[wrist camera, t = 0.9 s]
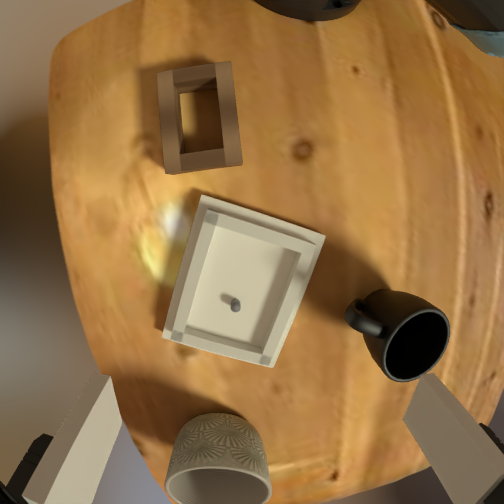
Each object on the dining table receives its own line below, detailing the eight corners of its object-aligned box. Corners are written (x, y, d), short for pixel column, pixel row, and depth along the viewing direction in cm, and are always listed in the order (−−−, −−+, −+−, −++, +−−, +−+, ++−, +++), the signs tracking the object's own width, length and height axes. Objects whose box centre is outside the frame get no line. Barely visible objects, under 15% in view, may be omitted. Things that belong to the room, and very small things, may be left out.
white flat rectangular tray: (202, 194, 30) (199, 194, 27) (322, 234, 32) (330, 238, 29) (163, 332, 33) (158, 343, 30) (271, 362, 34) (274, 375, 32)
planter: (189, 461, 38) (183, 516, 27) (163, 406, 35) (148, 467, 25) (269, 453, 38) (277, 510, 28) (256, 396, 36) (264, 460, 25)
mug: (344, 252, 32) (384, 277, 23) (417, 293, 34) (462, 323, 25) (308, 317, 34) (333, 361, 24) (384, 348, 35) (419, 389, 26)
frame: (164, 83, 27) (156, 72, 24) (231, 73, 27) (231, 61, 24) (172, 174, 29) (165, 173, 26) (241, 165, 30) (242, 162, 26)
